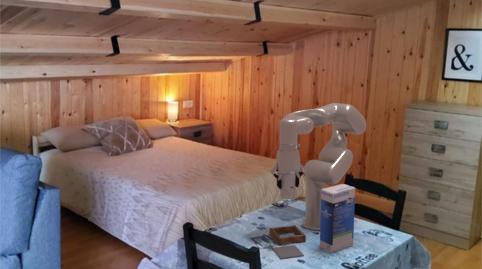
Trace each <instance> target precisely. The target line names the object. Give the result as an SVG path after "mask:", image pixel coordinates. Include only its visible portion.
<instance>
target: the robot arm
mask: <svg viewBox="0 0 482 269" xmlns="http://www.w3.org/2000/svg"><path fill="white" fill-rule="evenodd" d="M330 124H331V127H332V130H331V133H332V134H331V138H330V140H329V141H328V142H327V143H326V144H325V145H324V146H323V147H322V149H321V150H320V152H319V155H318V159H311V160H310V159H309V160H308V161H307V162H306V163H305V165H302V164H301V155H300V151H299V149H298V148H300V147H301V143H298V135H308V134H310V133H311V132H312V131H313V130H314V128H315V127H318V128H319V127H324V126H327V125H330ZM367 124H368V123H367V120H366V119H365V117H364V116H363V115H362V114H361V113H360V111H359V109H357V108H356V107H355V106H353V104H349V103H342V102H341V103H339V102H332V103H329V104H326V105H323V106H319V107H317V108H310V109H303V110H297V111H293V112H290V113H288V114H286V115H285V116H284V117H283V118H281V119H280V120H279V149H278V150H277V151H276V157H275V165H274V166H273V167H272V168H271V169H270V170H269V173H270V174H271V175H272V176H273V177H274V178H275V179H276V187H277V188H278V190H280V189H281V188H282V180H281V177H282V175H283V174H288V173H290V172H295V173H296V185H295V188H299V185H300V179H301V177H302V176H303V174H304V178H305V218H304V220H302V222H301V225H302V227H303V228H305V229H307V230H311V231H320V215H321V189H324V188H327V186H326V184H327V185H333V186H335V185H337V184H339V182H340V181H341V180H342V178H343V177H344V176H345V174H346V173H347V172H348V171H349V169H350V167H351V166H352V164H353V160H354V154H353V152H352V150H350V149H348V148H347V147H348V139H347V137H346V134H352V135H362V134H364V133H365V132H366V129H367ZM276 173H277V174H276Z"/></svg>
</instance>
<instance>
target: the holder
mask: <svg viewBox="0 0 482 269" xmlns="http://www.w3.org/2000/svg"><path fill="white" fill-rule="evenodd" d="M268 230H269V232H268V233H269V236H270V237H271V238H272V239H273V240H274V242H275V243H276V244H277V245H278V246H287V245H295V244H300V243H302V244H303V243H306V242H307V235H306V234H305V233H304V232H303V231H302V230H301V229H300V228H299V227H298V226H297V225H295V224H294V225H285V226H277V227H276V226H275V227H269V229H268ZM292 233H293V234H295V235H291V236H290V235H289V236H283V237H282V236H279V235H285V234H292Z"/></svg>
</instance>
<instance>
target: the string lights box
mask: <svg viewBox="0 0 482 269" xmlns="http://www.w3.org/2000/svg"><path fill="white" fill-rule="evenodd" d="M355 202H356V187H355V186H350V185H348V184H345V183H340V184H335V185H333V186H329V187H326V188H324V189H321V215H320V230H319V248H320V249H322V250H325V251H326V252H329V253H331V254H332V253H335V252H338V251H340V250H343V249H347V248H349V247H352V246H354V235H355V234H354V233H355V232H354V231H355V230H354V229H355Z"/></svg>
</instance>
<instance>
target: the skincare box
mask: <svg viewBox="0 0 482 269" xmlns="http://www.w3.org/2000/svg"><path fill="white" fill-rule="evenodd" d="M281 180H282V188H281V189H279V190H280V191H279V198H280V199H285V200H294V199H295V198H296V186H295V185H296V173H295V172H290V173H288V174H283V175H282V177H281Z"/></svg>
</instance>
